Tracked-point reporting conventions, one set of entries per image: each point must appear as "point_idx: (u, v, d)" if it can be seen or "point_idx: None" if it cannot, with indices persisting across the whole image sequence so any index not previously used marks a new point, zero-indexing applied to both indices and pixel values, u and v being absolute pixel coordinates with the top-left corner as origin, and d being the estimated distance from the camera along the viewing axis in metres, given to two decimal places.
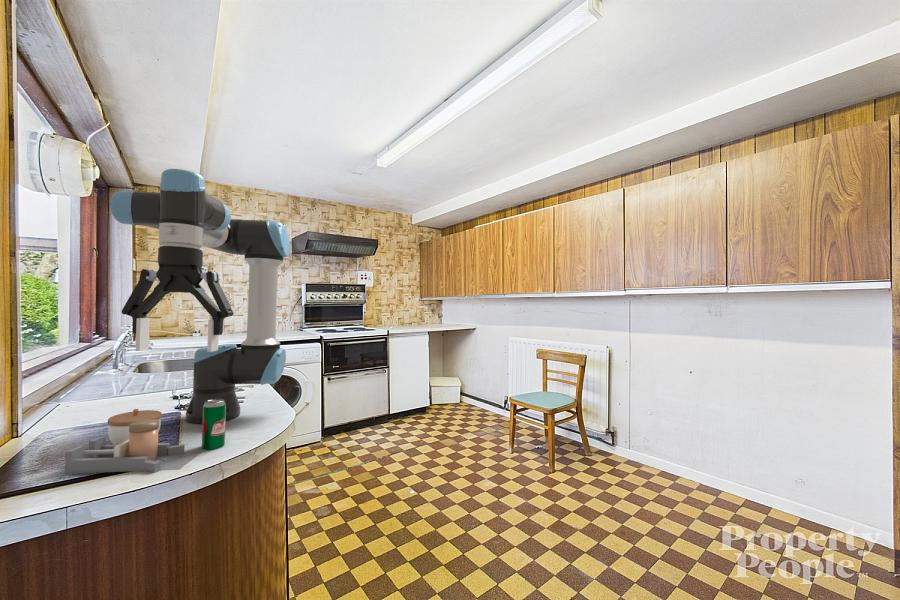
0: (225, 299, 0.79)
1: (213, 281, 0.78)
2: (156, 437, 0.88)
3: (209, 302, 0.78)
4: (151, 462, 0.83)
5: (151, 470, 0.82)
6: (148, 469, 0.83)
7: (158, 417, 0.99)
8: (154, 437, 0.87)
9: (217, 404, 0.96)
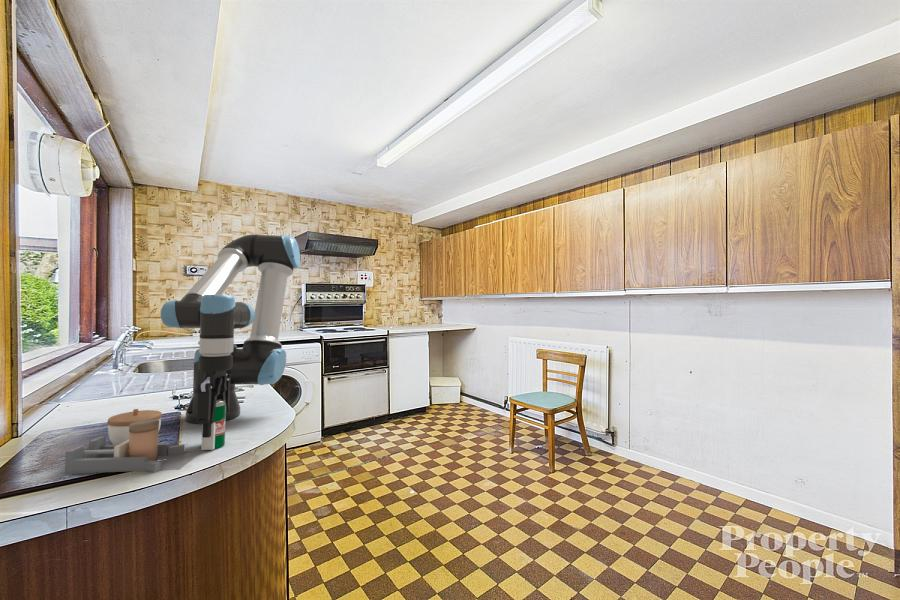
0: (205, 409, 0.92)
1: (199, 393, 0.92)
2: (156, 437, 0.88)
3: None
4: (151, 462, 0.83)
5: (151, 470, 0.82)
6: (148, 469, 0.83)
7: (158, 417, 0.99)
8: (154, 437, 0.87)
9: (217, 404, 0.96)
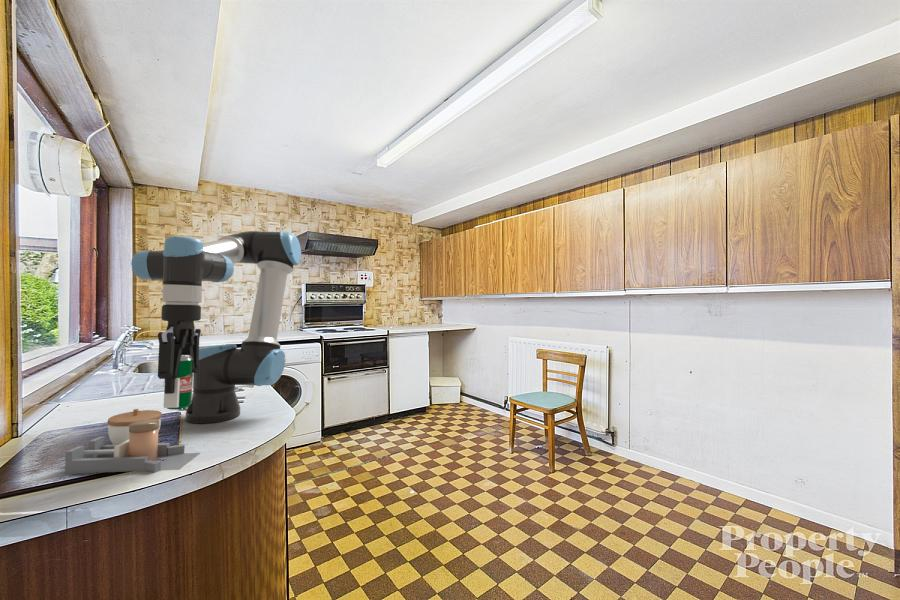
0: (166, 361, 0.82)
1: (160, 343, 0.82)
2: (156, 437, 0.88)
3: None
4: (151, 462, 0.83)
5: (151, 470, 0.82)
6: (148, 469, 0.83)
7: (158, 417, 0.99)
8: (154, 437, 0.87)
9: (182, 358, 0.87)
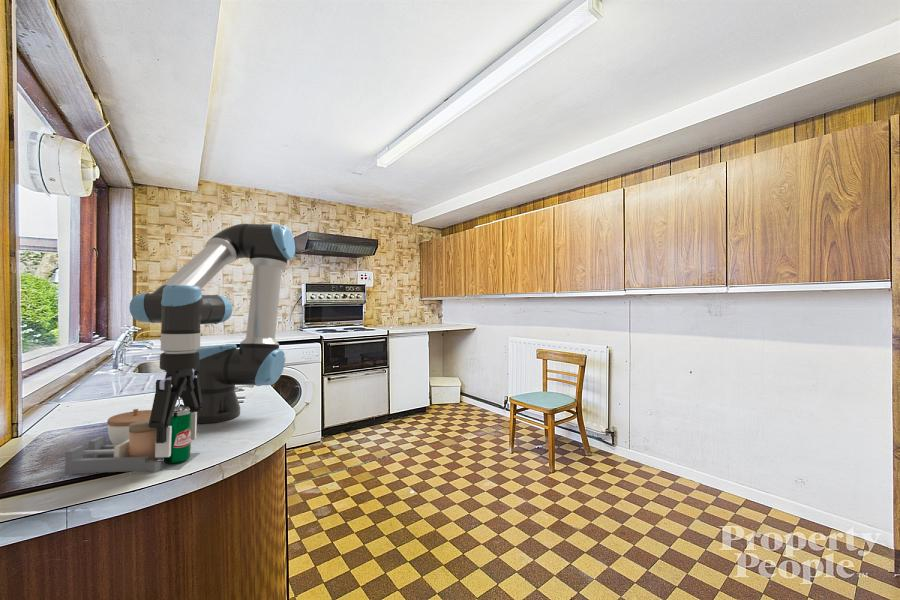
0: (160, 409, 0.81)
1: (156, 390, 0.82)
2: None
3: None
4: (151, 462, 0.83)
5: (151, 470, 0.82)
6: (148, 469, 0.83)
7: None
8: (154, 437, 0.87)
9: (181, 412, 0.87)
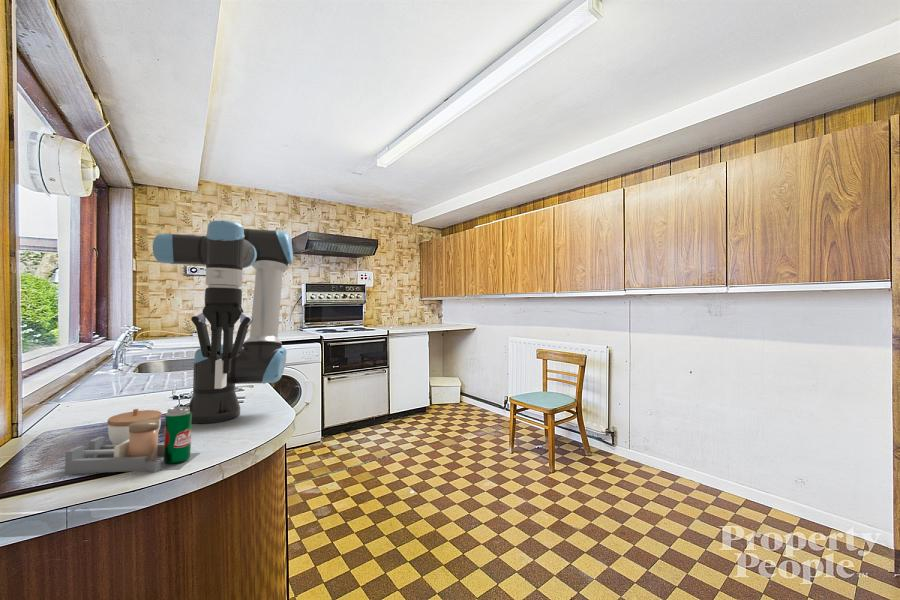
0: (242, 342, 0.91)
1: (245, 326, 0.90)
2: (156, 437, 0.88)
3: (229, 343, 0.90)
4: (151, 462, 0.83)
5: (151, 470, 0.82)
6: (148, 469, 0.83)
7: (158, 417, 0.99)
8: (154, 437, 0.87)
9: (181, 412, 0.87)
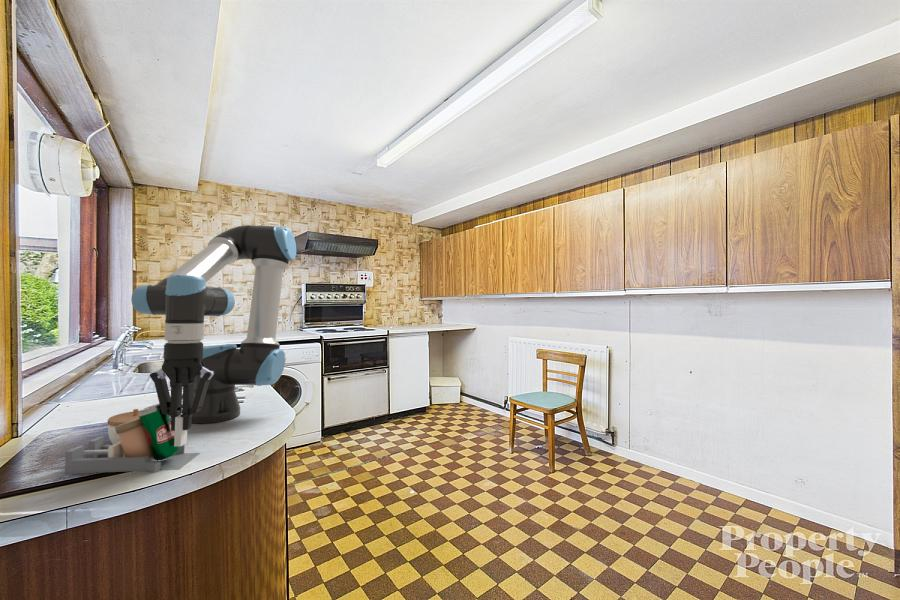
0: (203, 397, 0.89)
1: (205, 382, 0.88)
2: None
3: (189, 399, 0.88)
4: (151, 462, 0.83)
5: (151, 470, 0.82)
6: (148, 469, 0.83)
7: None
8: None
9: (153, 409, 0.86)
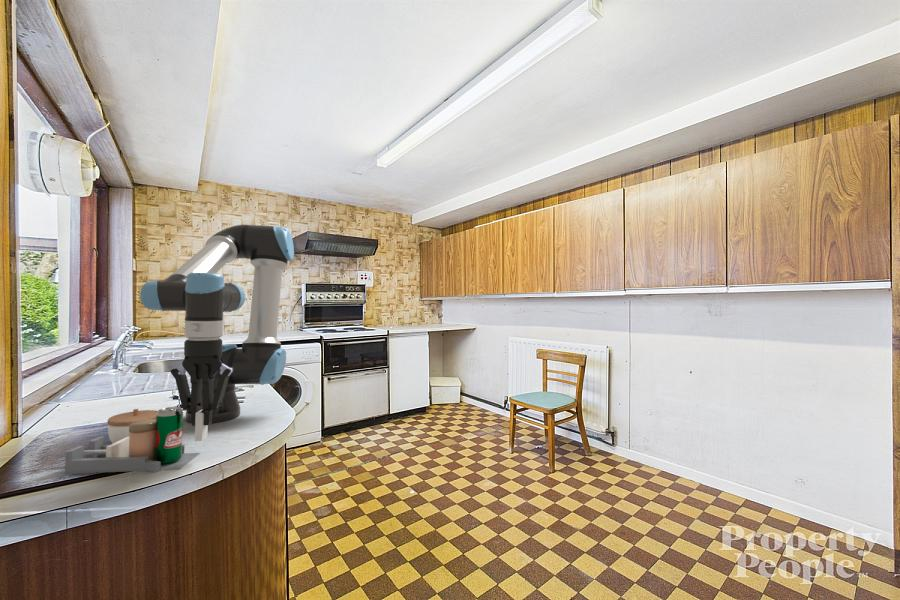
0: (223, 393, 0.90)
1: (225, 378, 0.89)
2: None
3: (210, 395, 0.89)
4: (151, 462, 0.83)
5: (151, 470, 0.82)
6: (148, 469, 0.83)
7: None
8: (154, 437, 0.87)
9: (171, 413, 0.87)
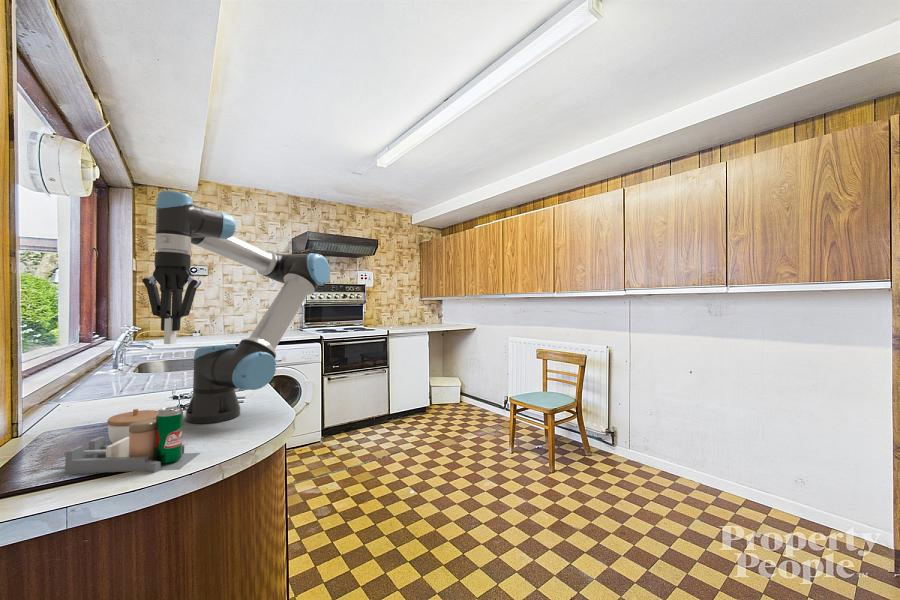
0: (190, 303, 1.00)
1: (192, 288, 0.98)
2: None
3: (178, 303, 0.98)
4: (151, 462, 0.83)
5: (151, 470, 0.82)
6: (148, 469, 0.83)
7: None
8: (154, 437, 0.87)
9: (171, 413, 0.87)
